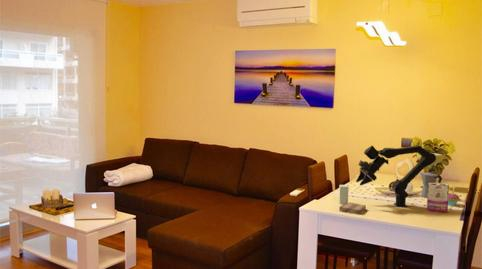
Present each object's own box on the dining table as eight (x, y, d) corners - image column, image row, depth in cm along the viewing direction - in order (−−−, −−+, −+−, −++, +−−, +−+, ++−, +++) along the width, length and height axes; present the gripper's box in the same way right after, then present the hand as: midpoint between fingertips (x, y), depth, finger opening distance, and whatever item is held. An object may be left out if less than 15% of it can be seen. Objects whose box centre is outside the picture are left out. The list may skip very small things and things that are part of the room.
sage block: (339, 201, 278) (339, 184, 277) (347, 202, 278) (347, 185, 277) (339, 204, 274) (340, 186, 272) (347, 204, 273) (348, 186, 272)
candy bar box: (447, 210, 261) (448, 183, 259) (447, 212, 256) (449, 184, 254) (426, 208, 265) (427, 181, 263) (426, 210, 260) (428, 183, 258)
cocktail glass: (447, 188, 317) (449, 154, 314) (432, 191, 306) (434, 156, 304) (424, 184, 331) (426, 150, 329) (409, 187, 321) (411, 152, 319)
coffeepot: (415, 195, 296) (416, 168, 294) (423, 193, 302) (425, 167, 300) (436, 200, 284) (437, 172, 282) (444, 198, 289) (446, 171, 287)
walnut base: (339, 211, 258) (339, 207, 257) (345, 206, 268) (345, 202, 268) (359, 214, 252) (360, 210, 251) (365, 209, 262) (365, 205, 261)
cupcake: (462, 206, 270) (463, 187, 269) (449, 206, 269) (450, 187, 267) (453, 202, 278) (454, 183, 277) (440, 203, 277) (441, 184, 276)
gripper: (362, 153, 278) (345, 171, 279) (370, 158, 259) (352, 177, 260) (375, 165, 278) (358, 183, 280) (384, 171, 260) (365, 190, 261)
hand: (358, 183), depth 270 cm, fingers open, 9 cm apart
